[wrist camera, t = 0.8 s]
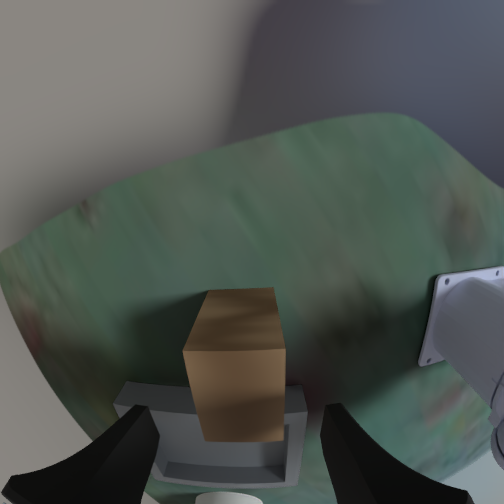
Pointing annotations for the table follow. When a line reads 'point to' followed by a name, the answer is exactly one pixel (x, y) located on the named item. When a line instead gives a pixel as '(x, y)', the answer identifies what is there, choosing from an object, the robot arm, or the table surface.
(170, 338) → the table surface
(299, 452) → the tray
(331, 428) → the robot arm
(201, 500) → the cylinder with rectangular tab
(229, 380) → the walnut block
